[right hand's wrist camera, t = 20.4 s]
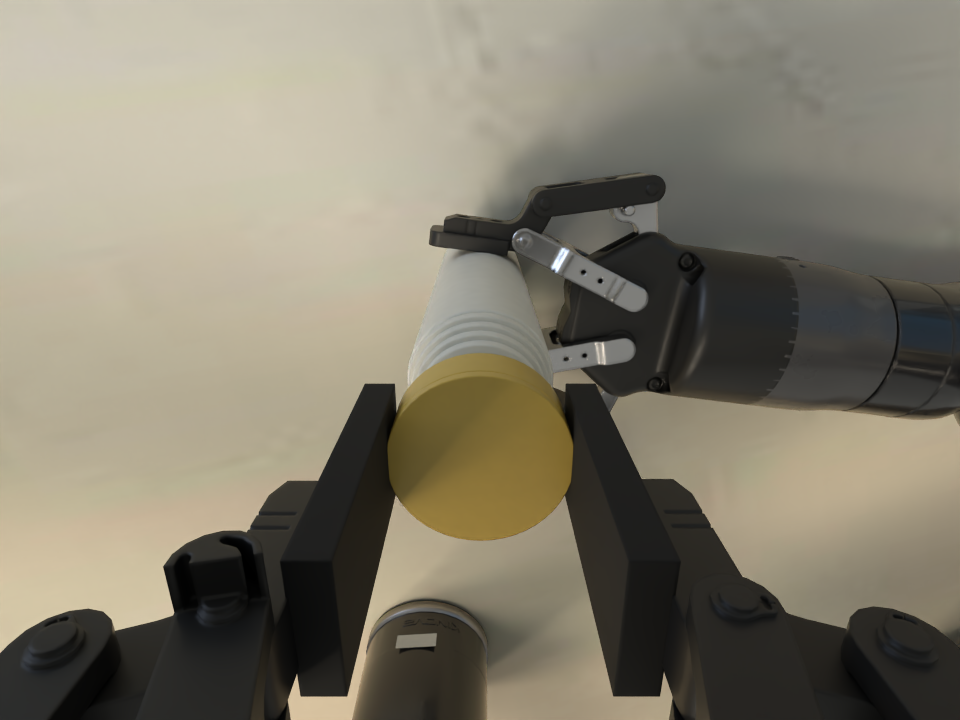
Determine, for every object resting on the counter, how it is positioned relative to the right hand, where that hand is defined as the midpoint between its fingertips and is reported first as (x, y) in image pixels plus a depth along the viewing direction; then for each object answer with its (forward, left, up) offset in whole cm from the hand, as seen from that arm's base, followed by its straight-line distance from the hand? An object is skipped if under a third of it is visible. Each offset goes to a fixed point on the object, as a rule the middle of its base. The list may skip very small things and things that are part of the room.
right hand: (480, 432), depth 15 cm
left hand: (-1, +2, -14) cm, 15 cm away
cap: (0, 0, +1) cm, 1 cm away
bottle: (0, 0, -21) cm, 21 cm away
